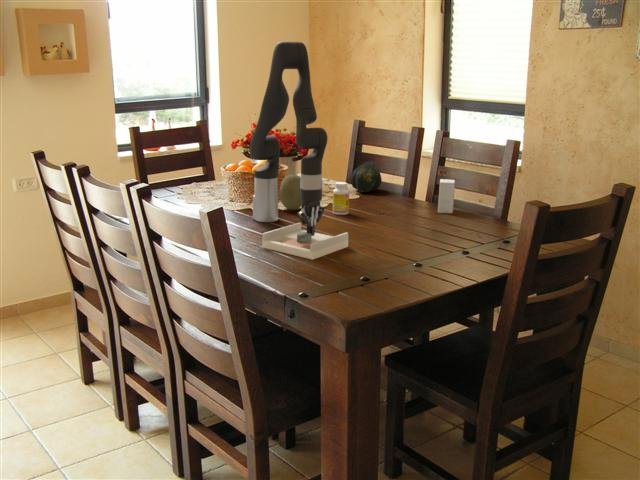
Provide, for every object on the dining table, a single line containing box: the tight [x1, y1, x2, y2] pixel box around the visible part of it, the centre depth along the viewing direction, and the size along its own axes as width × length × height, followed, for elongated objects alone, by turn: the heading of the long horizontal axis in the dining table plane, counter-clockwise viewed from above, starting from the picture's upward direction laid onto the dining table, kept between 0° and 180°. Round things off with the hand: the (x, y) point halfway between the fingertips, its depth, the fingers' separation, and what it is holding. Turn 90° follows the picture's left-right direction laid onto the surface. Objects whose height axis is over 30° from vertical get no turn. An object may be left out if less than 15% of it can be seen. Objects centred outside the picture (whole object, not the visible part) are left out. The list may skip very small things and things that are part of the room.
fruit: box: [279, 174, 302, 210], centre depth 300 cm, size 11×11×15 cm
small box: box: [437, 178, 456, 214], centre depth 301 cm, size 8×6×13 cm
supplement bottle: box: [332, 181, 350, 216], centre depth 294 cm, size 7×7×13 cm
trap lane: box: [261, 222, 349, 260], centre depth 246 cm, size 22×20×5 cm
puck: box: [297, 232, 312, 243], centre depth 245 cm, size 5×5×2 cm
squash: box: [350, 160, 383, 193], centre depth 339 cm, size 14×15×15 cm
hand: (310, 235), depth 248 cm, fingers closed
